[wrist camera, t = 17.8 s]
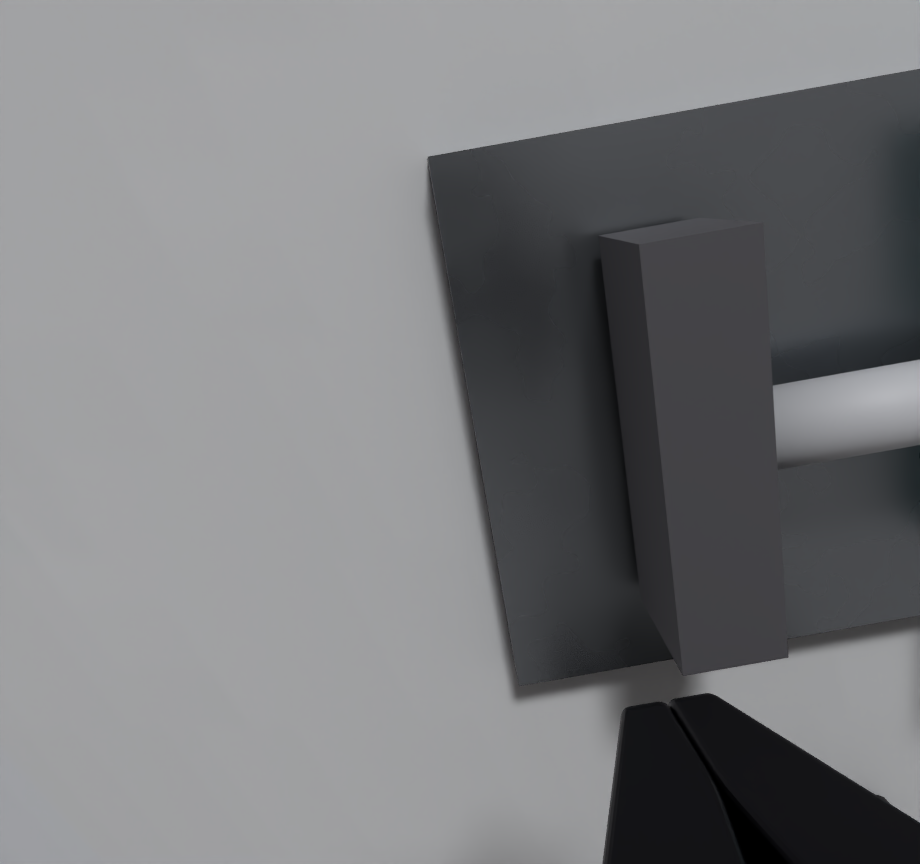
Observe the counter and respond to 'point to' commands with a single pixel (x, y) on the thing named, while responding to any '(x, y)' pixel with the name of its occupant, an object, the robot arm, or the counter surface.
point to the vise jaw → (722, 432)
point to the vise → (591, 362)
